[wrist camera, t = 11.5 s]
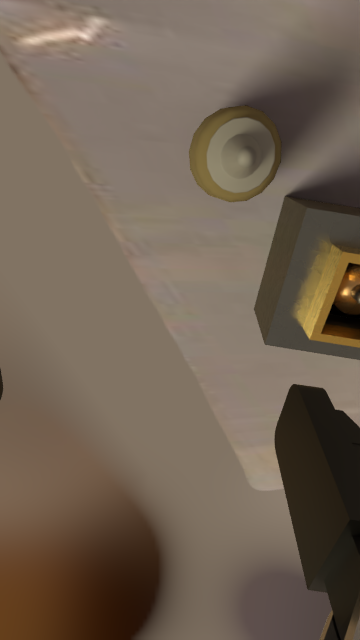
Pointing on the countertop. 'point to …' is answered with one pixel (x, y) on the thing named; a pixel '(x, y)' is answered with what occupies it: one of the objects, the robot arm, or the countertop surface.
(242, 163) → the squeeze bottle
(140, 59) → the countertop surface
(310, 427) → the robot arm
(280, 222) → the grey boxy block
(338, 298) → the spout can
